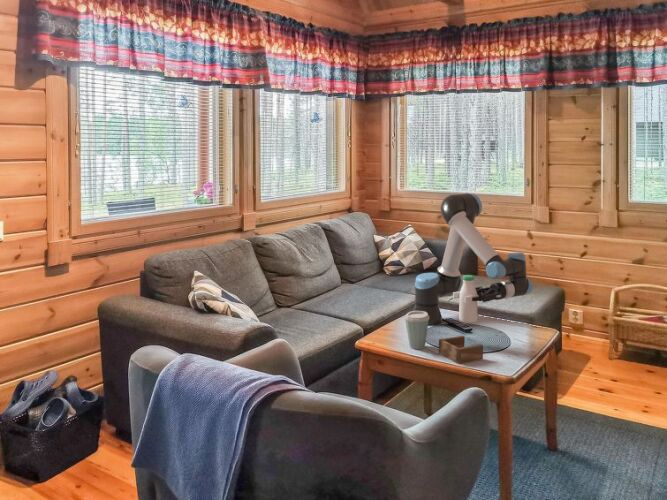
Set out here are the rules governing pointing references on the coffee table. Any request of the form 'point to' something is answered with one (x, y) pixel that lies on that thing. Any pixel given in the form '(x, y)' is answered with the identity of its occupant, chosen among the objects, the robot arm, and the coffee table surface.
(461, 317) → the milk bottle
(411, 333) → the disposable coffee cup
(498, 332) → the coffee table surface
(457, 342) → the wooden open tray
